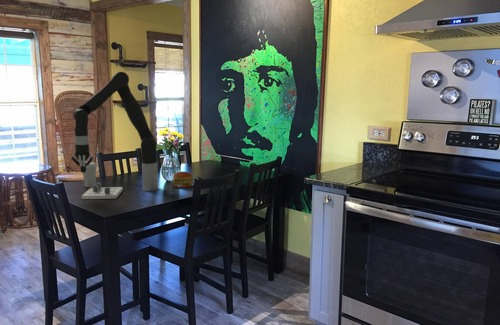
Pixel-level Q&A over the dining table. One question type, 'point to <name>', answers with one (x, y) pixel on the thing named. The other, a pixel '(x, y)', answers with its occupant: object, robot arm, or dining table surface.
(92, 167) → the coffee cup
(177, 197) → the dining table surface
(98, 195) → the switch panel
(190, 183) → the burger
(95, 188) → the middle switch
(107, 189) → the front switch
